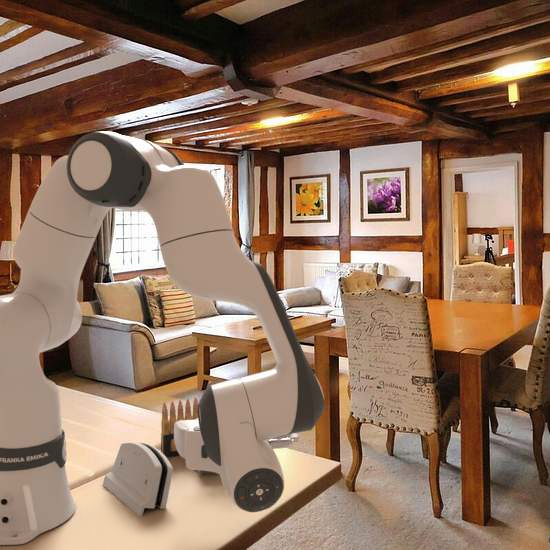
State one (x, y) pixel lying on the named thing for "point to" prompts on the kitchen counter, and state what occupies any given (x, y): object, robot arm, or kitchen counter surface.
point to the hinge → (140, 477)
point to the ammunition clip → (168, 425)
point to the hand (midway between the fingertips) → (227, 417)
